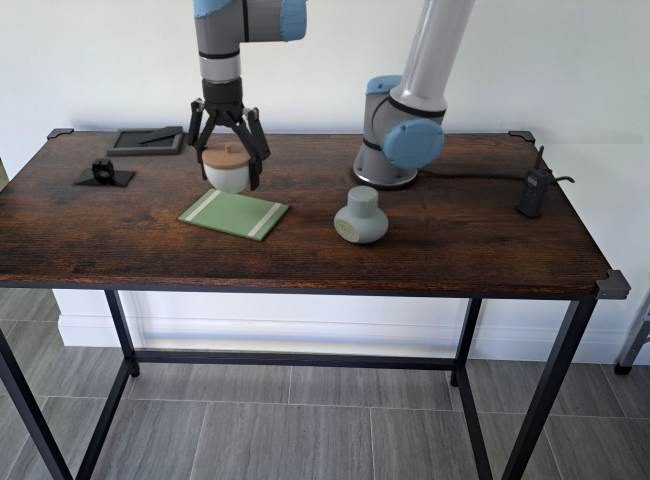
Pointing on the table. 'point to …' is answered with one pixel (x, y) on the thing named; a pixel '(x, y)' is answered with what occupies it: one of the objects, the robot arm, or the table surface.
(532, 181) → the two-way radio
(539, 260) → the table surface
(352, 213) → the air freshener
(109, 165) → the black mounting bracket
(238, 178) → the trinket box
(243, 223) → the towel
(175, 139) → the picture frame
